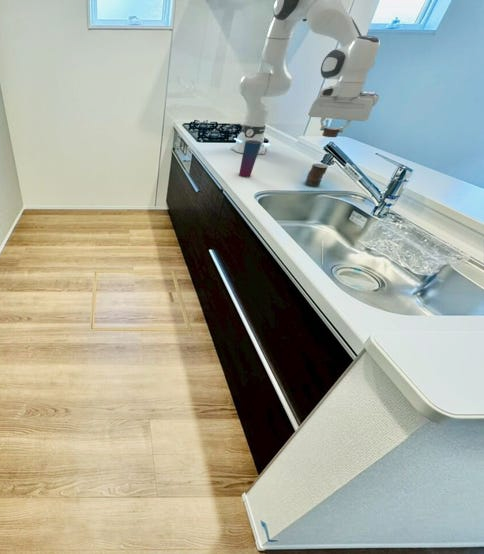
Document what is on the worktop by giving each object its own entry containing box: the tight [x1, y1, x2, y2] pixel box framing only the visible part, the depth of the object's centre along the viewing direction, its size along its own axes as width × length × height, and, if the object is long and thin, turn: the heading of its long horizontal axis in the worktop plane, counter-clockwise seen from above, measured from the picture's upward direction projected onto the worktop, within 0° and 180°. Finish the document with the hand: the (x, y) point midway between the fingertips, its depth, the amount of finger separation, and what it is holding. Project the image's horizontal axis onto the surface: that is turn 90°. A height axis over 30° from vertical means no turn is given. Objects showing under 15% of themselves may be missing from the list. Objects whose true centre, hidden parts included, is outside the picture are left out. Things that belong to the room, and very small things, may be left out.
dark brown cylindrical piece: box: [304, 163, 329, 188], centre depth 129 cm, size 6×6×8 cm
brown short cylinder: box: [322, 126, 340, 138], centre depth 120 cm, size 5×5×3 cm
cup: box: [238, 140, 262, 178], centre depth 137 cm, size 7×7×15 cm
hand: (331, 131), depth 120 cm, fingers closed on brown short cylinder, 5 cm apart
